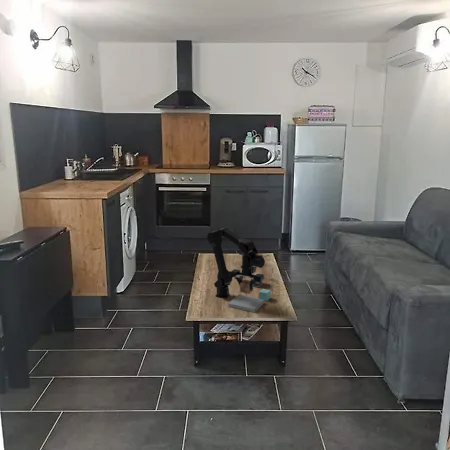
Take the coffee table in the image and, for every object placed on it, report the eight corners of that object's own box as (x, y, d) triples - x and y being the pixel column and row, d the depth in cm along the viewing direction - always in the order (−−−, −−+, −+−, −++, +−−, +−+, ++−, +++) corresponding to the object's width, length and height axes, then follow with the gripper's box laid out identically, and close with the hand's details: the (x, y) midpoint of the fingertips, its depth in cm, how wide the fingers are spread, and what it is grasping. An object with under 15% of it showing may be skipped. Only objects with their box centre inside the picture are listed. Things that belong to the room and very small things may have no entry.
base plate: (228, 306, 248) (228, 303, 247) (239, 297, 260) (239, 294, 259) (254, 312, 241) (254, 309, 240) (264, 302, 253) (264, 299, 252)
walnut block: (240, 292, 247) (240, 282, 246) (244, 288, 252) (244, 279, 250) (249, 293, 245) (249, 284, 243) (253, 290, 249) (253, 281, 248)
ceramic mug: (264, 283, 282) (264, 271, 280) (262, 287, 274) (262, 276, 272) (248, 281, 285) (248, 270, 283) (245, 286, 277) (245, 274, 275)
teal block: (259, 299, 257) (259, 291, 256) (262, 296, 262) (262, 288, 260) (267, 301, 255) (267, 293, 254) (270, 298, 259) (270, 290, 258)
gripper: (268, 261, 247) (267, 287, 251) (238, 256, 255) (237, 281, 259) (260, 267, 237) (259, 294, 241) (229, 262, 245) (229, 288, 249)
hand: (246, 289), depth 248 cm, fingers closed on walnut block, 5 cm apart
